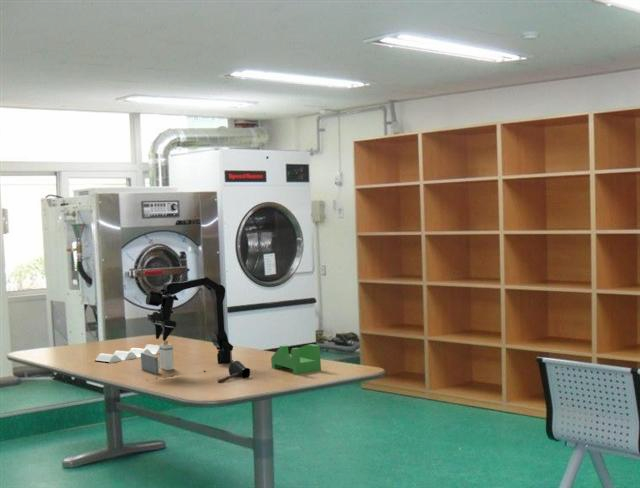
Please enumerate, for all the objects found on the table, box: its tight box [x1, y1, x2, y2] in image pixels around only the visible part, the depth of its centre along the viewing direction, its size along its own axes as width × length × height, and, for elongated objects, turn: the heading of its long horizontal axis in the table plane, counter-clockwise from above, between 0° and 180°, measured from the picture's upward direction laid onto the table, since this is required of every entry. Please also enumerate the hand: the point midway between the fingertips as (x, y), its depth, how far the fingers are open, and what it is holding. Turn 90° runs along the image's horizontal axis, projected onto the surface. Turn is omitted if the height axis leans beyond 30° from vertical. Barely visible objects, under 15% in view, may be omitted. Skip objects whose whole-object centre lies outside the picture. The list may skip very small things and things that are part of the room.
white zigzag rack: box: [94, 343, 160, 364], centre depth 464 cm, size 13×35×5 cm, turn 138°
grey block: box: [140, 353, 161, 375], centre depth 411 cm, size 14×20×9 cm
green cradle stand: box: [270, 343, 322, 375], centre depth 398 cm, size 24×13×12 cm, turn 30°
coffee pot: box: [217, 360, 251, 384], centre depth 382 cm, size 8×18×8 cm
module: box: [158, 339, 175, 371], centre depth 413 cm, size 4×7×14 cm, turn 31°
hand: (160, 339), depth 411 cm, fingers open, 9 cm apart
